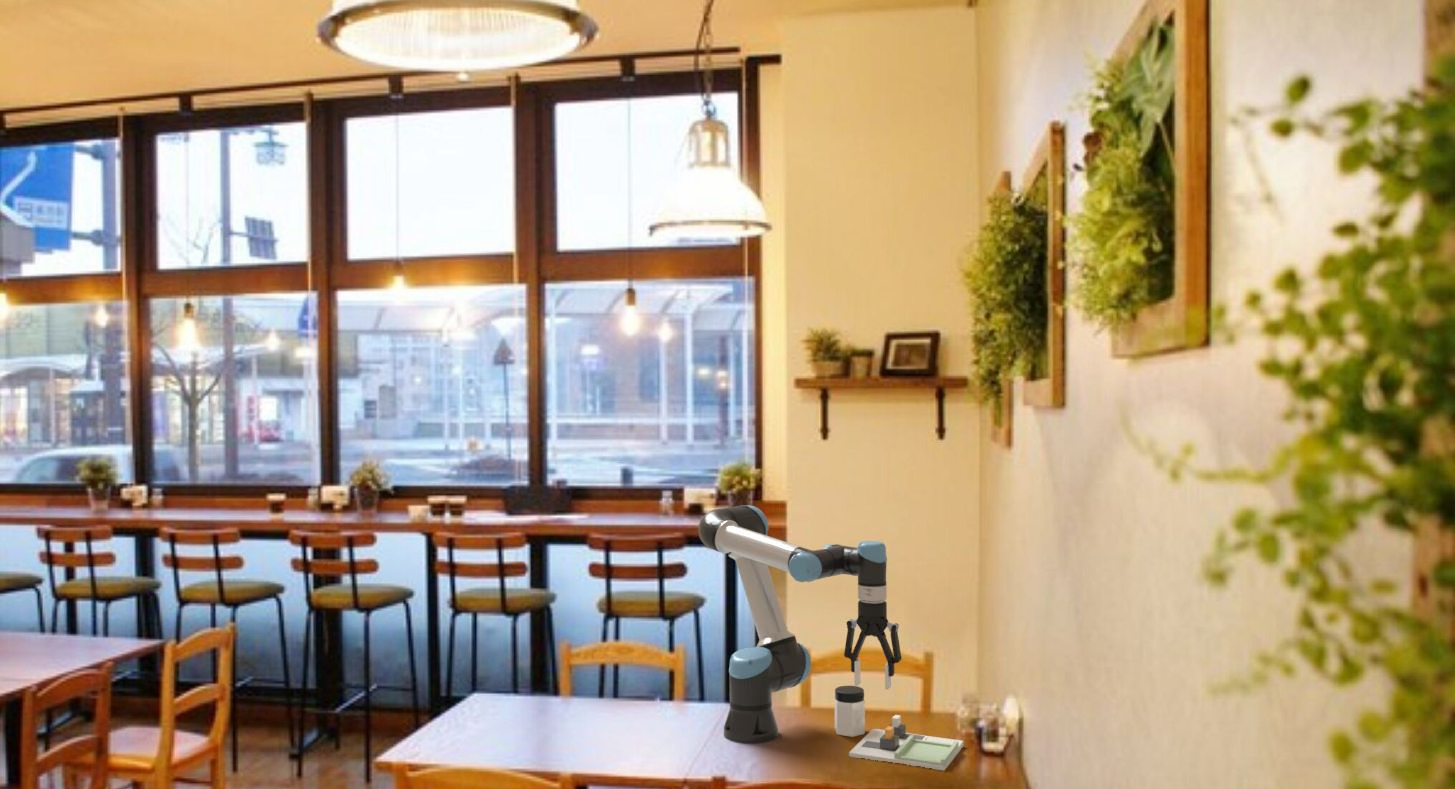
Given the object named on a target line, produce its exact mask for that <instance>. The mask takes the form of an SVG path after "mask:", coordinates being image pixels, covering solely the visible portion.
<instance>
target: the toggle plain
mask: <svg viewBox="0 0 1455 789" xmlns="http://www.w3.org/2000/svg"><path fill="white" fill-rule="evenodd" d="M906 725H907V724H905V723H902V715H899V714H895V715H893V716H892V718H891V722H890V723H889V724H888V726H891V727H894V735H895V736H899V738H902V737H903V736H904V735H905V734H906V733H907V729H906V728H907V726H906Z"/></svg>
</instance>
